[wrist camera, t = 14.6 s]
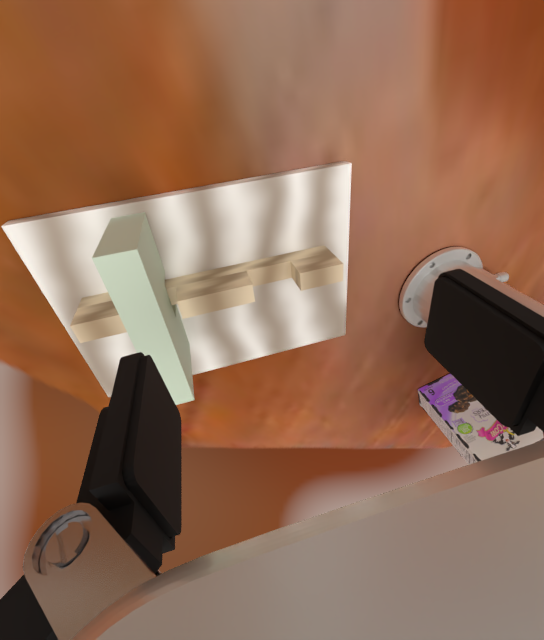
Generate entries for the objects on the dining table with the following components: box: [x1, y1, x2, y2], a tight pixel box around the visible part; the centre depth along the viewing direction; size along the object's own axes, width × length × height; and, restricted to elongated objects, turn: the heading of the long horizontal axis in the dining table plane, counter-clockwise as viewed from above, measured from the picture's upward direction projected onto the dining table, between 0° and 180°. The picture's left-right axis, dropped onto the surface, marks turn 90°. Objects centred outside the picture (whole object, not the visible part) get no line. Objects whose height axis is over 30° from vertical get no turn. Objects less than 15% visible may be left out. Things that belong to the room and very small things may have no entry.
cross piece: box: [92, 212, 194, 405], centre depth 30 cm, size 16×3×9 cm, turn 6°
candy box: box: [418, 374, 544, 465], centre depth 54 cm, size 14×6×16 cm, turn 112°
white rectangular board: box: [1, 161, 352, 397], centre depth 34 cm, size 32×22×6 cm
